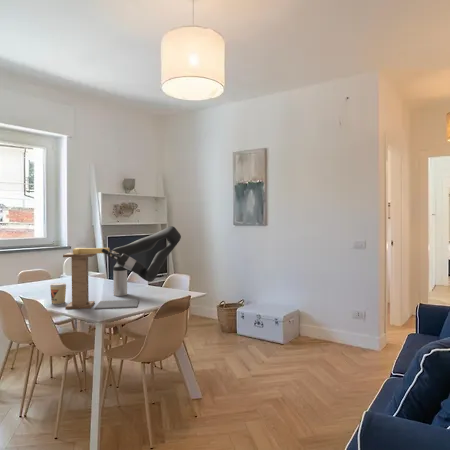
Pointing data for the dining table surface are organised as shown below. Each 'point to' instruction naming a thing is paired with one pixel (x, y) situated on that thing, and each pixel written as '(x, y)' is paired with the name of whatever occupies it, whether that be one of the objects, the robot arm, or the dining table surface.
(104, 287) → the dining table surface
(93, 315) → the dining table surface
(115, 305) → the grey mat
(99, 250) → the mustard bar
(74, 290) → the walnut stand
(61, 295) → the coffee cup
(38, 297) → the dining table surface
